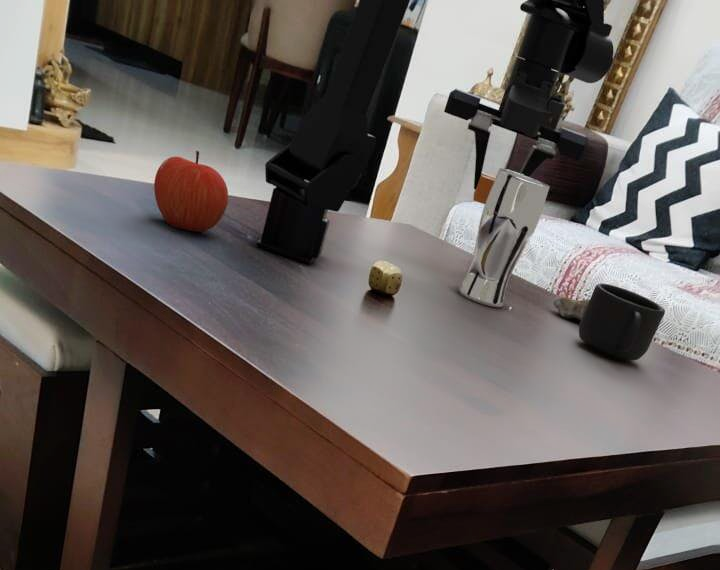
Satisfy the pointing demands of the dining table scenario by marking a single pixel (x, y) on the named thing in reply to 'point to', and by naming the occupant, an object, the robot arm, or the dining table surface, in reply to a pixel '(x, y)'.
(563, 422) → the dining table surface
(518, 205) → the silver metal vase
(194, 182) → the apple
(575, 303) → the rock
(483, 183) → the small cardboard box
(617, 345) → the mug
